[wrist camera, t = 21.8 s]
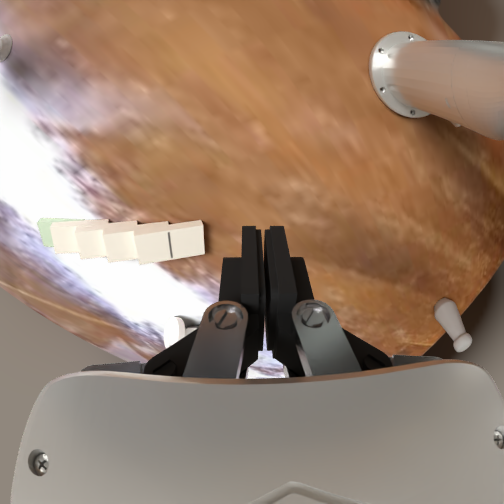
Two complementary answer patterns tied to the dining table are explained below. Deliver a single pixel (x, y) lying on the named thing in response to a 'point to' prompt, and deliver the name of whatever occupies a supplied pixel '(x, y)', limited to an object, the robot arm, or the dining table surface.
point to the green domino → (45, 229)
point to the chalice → (5, 46)
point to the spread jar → (176, 331)
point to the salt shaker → (452, 323)
